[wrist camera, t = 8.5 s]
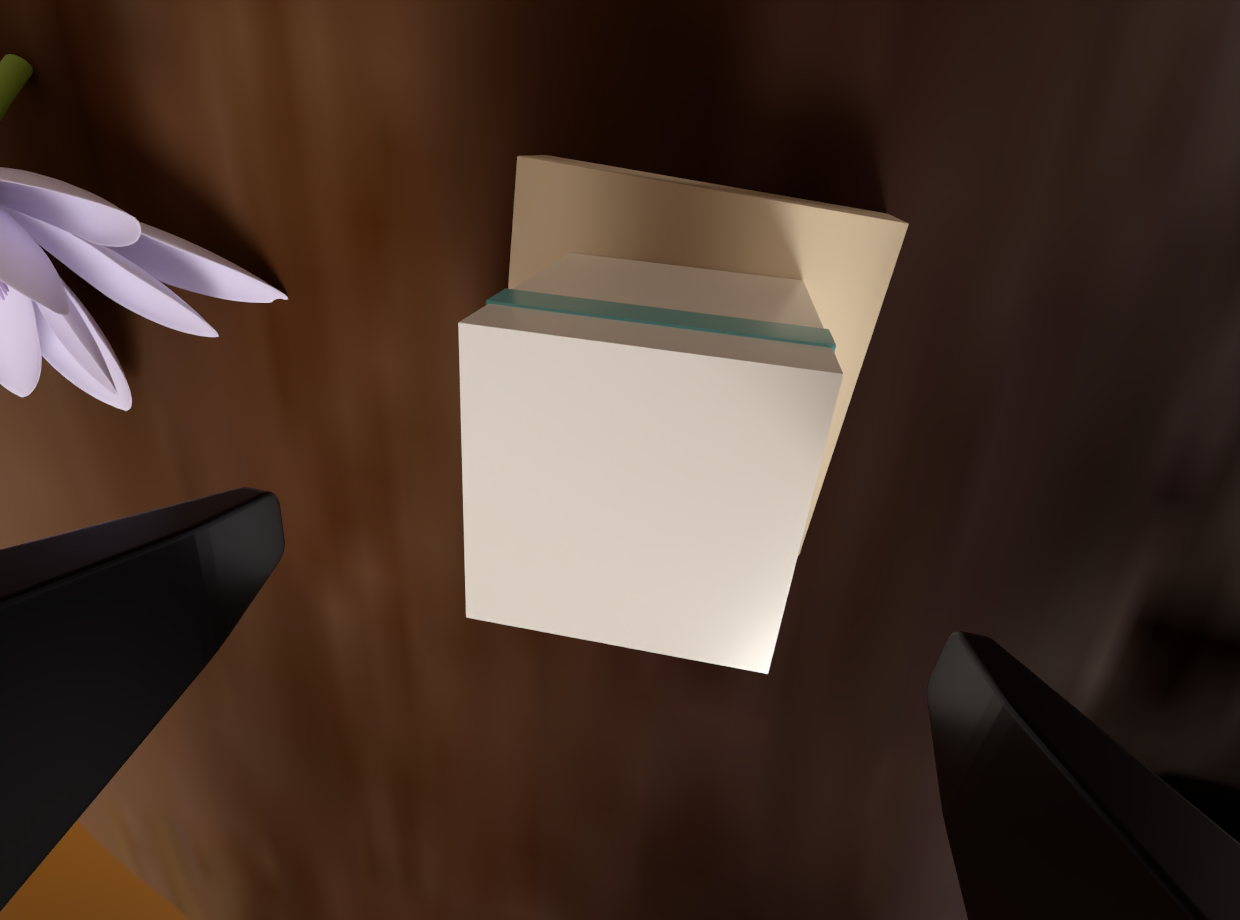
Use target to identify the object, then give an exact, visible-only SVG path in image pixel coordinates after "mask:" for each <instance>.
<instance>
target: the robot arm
mask: <svg viewBox="0 0 1240 920" xmlns="http://www.w3.org/2000/svg"><path fill="white" fill-rule="evenodd" d="M284 546H285V540H284V532H283V525H282V517H281V510H280V503H279V500H278V498H277V496H276V495H275V494H274V493H272V492H269V491H264V490H259V489H254V488H249V487H243V488H238V489H234V490H230V491H226V492H222V493H219V494H215V495H211V496H207V497H203V498H199V499H195V500H191V501H187V502H184V503H180V504H176V505H172V506H168V507H164V508H160V509H156V510H152V511H149V512H145V513H141V514H137V515H133V516H129V517H125V518H121V519H117V520H114V521H110V522H106V523H102V524H98V525H94V526H90V527H86V528H82V529H79V530H75V531H71V532H67V533H63V534H59V535H55V536H51V537H47V538H44V539H40V540H36V541H32V542H28V543H24V544H20V545H16V546H12V547H9V548H5V549H1V550H0V911H1V910H2V909H3V907H5V905H6V904H7V903H8V902H9V901H10V899H11V898H12V897H13V896H14V895H15V894H16V892H17V891H18V890H19V889H20V888H21V886H22V885H23V884H24V883H25V882H26V880H27V879H28V878H29V877H30V875H31V874H32V873H33V872H34V871H35V870H36V868H37V867H38V866H39V865H40V864H41V862H42V861H43V860H44V859H45V858H46V856H47V855H48V854H49V853H50V852H51V850H52V849H53V848H54V847H55V846H56V844H57V843H58V842H59V841H60V840H61V838H62V837H63V836H64V835H65V834H66V833H67V831H68V830H69V829H70V828H71V827H72V825H73V824H74V823H75V822H76V821H77V819H78V818H79V817H80V816H81V815H82V813H83V812H84V811H85V810H86V809H87V807H88V806H89V805H90V804H91V803H92V801H93V800H94V799H95V798H96V797H97V795H98V794H99V793H100V792H101V791H102V789H103V788H104V787H105V786H106V785H107V783H108V782H109V781H110V780H111V779H112V778H113V776H114V775H115V774H116V773H117V772H118V770H119V769H120V768H121V767H122V766H123V764H124V763H125V762H126V761H127V760H128V758H129V757H130V756H131V755H132V754H133V752H134V751H135V750H136V749H137V748H138V746H139V745H140V744H141V743H142V742H143V740H144V739H145V738H146V737H147V736H148V734H149V733H150V732H151V731H152V730H153V728H154V727H155V726H156V725H157V724H158V722H159V721H160V720H161V719H162V718H163V717H164V715H165V714H166V713H167V712H168V711H169V709H170V708H171V707H172V706H173V705H174V703H175V702H176V701H177V700H178V699H179V697H180V696H181V695H182V694H183V693H184V691H185V690H186V689H187V688H188V687H189V685H190V684H191V683H192V682H193V681H194V679H195V678H196V677H197V676H198V675H199V673H200V672H201V671H202V670H203V669H204V667H205V666H206V665H207V664H208V663H209V661H210V660H211V659H212V657H213V656H214V655H215V654H216V652H217V651H218V650H219V648H220V647H221V646H222V644H223V643H224V642H225V640H226V639H227V637H228V636H229V635H230V633H231V632H232V630H233V629H234V627H235V626H236V624H237V623H238V621H239V620H240V619H241V617H242V616H243V614H244V613H245V611H246V610H247V608H248V607H249V605H250V604H251V602H252V601H253V599H254V598H255V596H256V595H257V594H258V592H259V591H260V589H261V588H262V586H263V585H264V583H265V582H266V580H267V579H268V577H269V576H270V574H271V573H272V571H273V570H274V569H275V567H276V566H277V564H278V563H279V561H280V559H281V557H282V555H283V551H284ZM927 701H928V708H929V716H930V724H931V731H932V739H933V747H934V754H935V762H936V770H937V777H938V785H939V792H940V799H941V805H942V812H943V817H944V822H945V826H946V831H947V835H948V839H949V843H950V847H951V852H952V856H953V860H954V864H955V868H956V872H957V876H958V880H959V884H960V888H961V892H962V896H963V900H964V904H965V908H966V912H967V916H968V920H1240V790H1236V789H1232V788H1227V787H1223V786H1218V785H1213V784H1209V783H1204V782H1200V781H1195V780H1191V779H1186V778H1181V777H1175V776H1169V777H1164V778H1162V779H1161V778H1160V777H1158V776H1157V775H1156V774H1155V773H1154V772H1152V771H1151V770H1150V769H1149V768H1148V767H1146V766H1145V765H1144V764H1143V763H1141V762H1140V761H1139V760H1138V759H1137V758H1135V757H1134V756H1133V755H1132V754H1131V753H1129V752H1128V751H1127V750H1126V749H1125V748H1123V747H1122V746H1121V745H1120V744H1118V743H1117V742H1116V741H1115V740H1114V739H1112V738H1111V737H1110V736H1109V735H1108V734H1106V733H1105V732H1104V731H1103V730H1102V729H1100V728H1099V727H1098V726H1097V725H1095V724H1094V723H1093V722H1092V721H1091V720H1089V719H1088V718H1087V717H1086V716H1085V715H1083V714H1082V713H1081V712H1080V711H1079V710H1077V709H1076V708H1075V707H1074V706H1072V705H1071V704H1070V703H1069V702H1068V701H1066V700H1065V699H1064V698H1063V697H1062V696H1060V695H1059V694H1058V693H1057V692H1056V691H1054V690H1053V689H1052V688H1051V687H1049V686H1048V685H1047V684H1046V683H1045V682H1043V681H1042V680H1041V679H1040V678H1039V677H1037V676H1036V675H1035V674H1034V673H1033V672H1031V671H1030V670H1029V669H1028V668H1027V667H1025V666H1024V665H1023V664H1022V663H1020V662H1019V661H1018V660H1017V659H1016V658H1014V657H1013V656H1012V655H1011V654H1010V653H1008V652H1007V651H1006V650H1005V649H1004V648H1002V647H1001V646H1000V645H999V644H997V643H996V642H995V641H994V640H992V639H991V638H989V637H986V636H982V635H977V634H972V633H967V632H962V631H957V632H954V633H952V634H951V635H950V636H949V638H948V639H947V641H946V643H945V645H944V647H943V650H942V652H941V654H940V656H939V658H938V660H937V663H936V665H935V667H934V669H933V671H932V673H931V676H930V678H929V682H928V687H927Z"/></svg>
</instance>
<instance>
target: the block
mask: <svg viewBox="0 0 1240 920" xmlns="http://www.w3.org/2000/svg"><path fill="white" fill-rule="evenodd" d="M908 225H909V224H908V223H906V222H904V221H902V220H900V219H898V218H895V217H893V216H891V215H889V214H887V213H881V212H875V211H869V210H863V209H858V208H852V207H846V206H840V205H834V204H828V203H823V202H817V201H811V200H805V199H799V198H794V197H788V196H782V195H776V194H770V193H764V192H759V191H753V190H747V189H741V188H735V187H730V186H724V185H718V184H712V183H706V182H700V181H695V180H689V179H683V178H677V177H671V176H666V175H660V174H654V173H648V172H642V171H636V170H631V169H625V168H619V167H613V166H607V165H601V164H596V163H590V162H584V161H578V160H572V159H567V158H561V157H555V156H549V155H532V156H517V167H516V182H515V196H514V211H513V225H512V239H511V254H510V268H509V283H508V289H513V288H515V287H516V286H518V285H519V284H521V283H523V282H524V281H526V280H527V279H529V278H531V277H532V276H534V275H535V274H537V273H539V272H540V271H542V270H543V269H545V268H547V267H548V266H550V265H551V264H553V263H555V262H556V261H558V260H559V259H561V258H563V257H564V256H566V255H568V254H569V253H576V254H585V255H593V256H602V257H610V258H619V259H627V260H635V261H644V262H652V263H661V264H669V265H678V266H686V267H694V268H703V269H711V270H720V271H728V272H737V273H745V274H754V275H762V276H770V277H779V278H787V279H796V280H803V281H804V284H805V286H806V288H807V290H808V293H809V295H810V297H811V300H812V302H813V304H814V307H815V309H816V311H817V314H818V316H819V318H820V321H821V323H822V325H823V328H824V329H829V331H830V333H831V335H832V337H833V339H834V342H835V344H836V348H835V356H836V358H837V360H838V363H839V365H840V367H841V370H842V372H843V378H842V382H841V386H840V390H839V394H838V398H837V402H836V406H835V410H834V414H833V417H832V421H831V425H830V429H829V433H828V437H827V441H826V445H825V449H824V453H823V457H822V461H821V465H820V469H819V473H818V477H817V481H816V485H815V489H814V493H813V497H812V501H811V505H810V509H809V513H808V517H807V521H806V525H805V529H804V533H803V537H802V541H801V545H800V549H799V553H800V550H801V547H802V544H803V541H804V538H805V535H806V532H807V529H808V526H809V523H810V520H811V517H812V514H813V511H814V508H815V505H816V502H817V499H818V496H819V493H820V490H821V487H822V484H823V481H824V478H825V475H826V472H827V469H828V466H829V463H830V460H831V457H832V454H833V451H834V448H835V445H836V442H837V439H838V436H839V433H840V430H841V427H842V424H843V421H844V418H845V415H846V412H847V409H848V406H849V403H850V400H851V397H852V393H853V390H854V387H855V384H856V381H857V378H858V375H859V372H860V369H861V366H862V363H863V360H864V357H865V354H866V351H867V348H868V345H869V342H870V339H871V336H872V333H873V330H874V327H875V324H876V321H877V318H878V315H879V312H880V309H881V306H882V303H883V300H884V297H885V294H886V291H887V288H888V285H889V282H890V279H891V276H892V273H893V270H894V267H895V264H896V261H897V258H898V255H899V252H900V249H901V246H902V243H903V240H904V237H905V234H906V231H907V228H908ZM799 553H798V555H799Z"/></svg>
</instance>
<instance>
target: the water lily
mask: <svg viewBox="0 0 1240 920" xmlns="http://www.w3.org/2000/svg"><path fill="white" fill-rule="evenodd" d="M32 73H33V68H32V66H31V65H30V64H29V63H28V62H27V61H26V60H24V59H23V58H21V57H19V56H17V55H13V54H7V55H5V56H4V58H3V59H2V60H1V62H0V123H1V121H2V119H3V117H4V116H5V114H6V112H7V111H8V109H9V107H10V106H11V104H12V103H13V101H14V99H15V98H16V96H17V95H18V93H19V92H20V90H21V89H22V88H23V86H24V85H25V83H26V82H27V81H28V79H29V78H30V77H31V76H32ZM38 244H39V245H40V246H41V247H42V248H44V249H45V250H46V251H48V252H49V253H50V254H52V255H53V256H54V257H55V258H57V259H58V260H59V261H61V262H62V263H63V264H65V265H66V266H67V267H68V268H70V269H71V270H72V271H73V272H75V273H76V274H77V275H79V276H80V277H81V278H83V279H84V280H85V281H87V282H88V283H89V284H91V285H92V286H93V287H95V288H96V289H97V290H99V291H100V292H101V293H103V294H104V295H106V296H107V297H109V298H110V299H112V300H113V301H115V302H117V303H118V304H120V305H122V306H123V307H125V308H127V309H129V310H131V311H133V312H135V313H137V314H139V315H141V316H143V317H145V318H147V319H149V320H151V321H154V322H156V323H158V324H161V325H164V326H166V327H169V328H172V329H175V330H178V331H181V332H185V333H189V334H194V335H199V336H206V337H218V333H217V332H216V331H215V330H214V329H213V328H212V327H211V326H210V325H209V324H208V323H207V322H206V321H205V320H204V319H203V318H202V317H201V316H200V315H199V314H198V313H197V312H196V311H195V310H193V309H192V308H191V307H190V306H189V305H188V304H187V303H186V302H184V301H183V300H182V299H181V298H180V297H179V296H177V295H176V294H175V293H174V292H172V291H171V290H170V289H169V288H167V287H166V286H165V285H163V284H162V283H161V282H163V283H166V284H169V285H172V286H175V287H178V288H181V289H184V290H188V291H191V292H195V293H199V294H203V295H207V296H212V297H216V298H221V299H227V300H234V301H242V302H255V303H271V302H273V301H274V300H275V299H279V298H281V299H284V300H287V299H288V297H287V296H286V295H285V294H284V293H282V292H281V291H279V290H277V289H276V288H274V287H273V286H271V285H270V284H268V283H266V282H265V281H263V280H262V279H260V278H258V277H257V276H255V275H253V274H251V273H250V272H248V271H246V270H245V269H243V268H241V267H239V266H237V265H236V264H234V263H232V262H230V261H228V260H226V259H224V258H222V257H220V256H218V255H216V254H214V253H212V252H210V251H208V250H206V249H204V248H202V247H200V246H198V245H195V244H193V243H191V242H189V241H187V240H184V239H182V238H180V237H177V236H175V235H172V234H170V233H168V232H165V231H163V230H160V229H157V228H155V227H152V226H150V225H147V224H144V223H141V222H139V221H138V220H137V219H136V218H135V217H133V216H131V215H129V214H128V213H126V212H125V211H123V210H122V209H120V208H118V207H117V206H115V205H113V204H112V203H110V202H108V201H106V200H105V199H103V198H101V197H99V196H97V195H95V194H93V193H91V192H88V191H86V190H84V189H81V188H79V187H76V186H74V185H71V184H69V183H66V182H63V181H61V180H58V179H54V178H51V177H48V176H44V175H40V174H37V173H33V172H29V171H24V170H19V169H12V168H3V167H0V384H1V385H2V386H4V387H5V388H6V389H8V390H9V391H11V392H12V393H14V394H16V395H18V396H20V397H25V396H28V395H29V394H30V393H31V392H32V391H33V390H34V389H35V387H36V385H37V382H38V381H39V377H40V372H41V355H42V356H43V357H44V358H45V359H46V360H47V361H48V362H49V363H50V364H51V365H52V366H53V367H54V368H55V369H56V370H57V371H58V372H60V373H61V374H62V375H63V376H64V377H65V378H67V379H68V380H69V381H71V382H72V383H73V384H75V385H76V386H77V387H79V388H80V389H82V390H83V391H85V392H86V393H88V394H90V395H92V396H93V397H95V398H97V399H99V400H101V401H103V402H105V403H107V404H109V405H111V406H114V407H116V408H119V409H122V410H125V411H127V410H129V409H130V408H131V404H132V398H131V392H130V388H129V385H128V382H127V380H126V377H125V374H124V372H123V369H122V367H121V365H120V362H119V360H118V358H117V357H116V355H115V353H114V351H113V349H112V347H111V345H110V344H109V342H108V340H107V338H106V337H105V335H104V334H103V332H102V330H101V329H100V327H99V326H98V324H97V323H96V321H95V320H94V319H93V317H92V316H91V314H90V313H89V312H88V310H87V309H86V308H85V306H84V305H83V304H82V303H81V301H80V300H79V299H78V298H77V296H76V295H75V294H74V293H73V292H72V290H71V289H70V288H69V287H68V286H67V285H66V283H65V282H64V281H63V280H62V279H61V278H60V277H59V275H58V273H57V271H56V269H55V268H54V266H53V264H52V262H51V261H50V259H49V258H48V256H47V255H46V254H45V252H44V251H43V250H42V248H41V247H40V246H39V245H38ZM159 281H160V282H159Z"/></svg>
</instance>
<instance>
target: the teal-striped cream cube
mask: <svg viewBox="0 0 1240 920" xmlns="http://www.w3.org/2000/svg"><path fill="white" fill-rule="evenodd" d="M458 324H459V362H460V400H461V438H462V476H463V515H464V553H465V591H466V617H467V618H472V619H478V620H483V621H488V622H494V623H499V624H504V625H510V626H515V627H520V628H526V629H531V630H536V631H542V632H547V633H552V634H558V635H563V636H568V637H574V638H579V639H584V640H590V641H595V642H600V643H606V644H611V645H616V646H622V647H627V648H632V649H638V650H643V651H648V652H654V653H659V654H664V655H670V656H675V657H680V658H686V659H691V660H696V661H702V662H707V663H712V664H718V665H723V666H728V667H734V668H739V669H744V670H750V671H755V672H760V673H766V674H768V672H769V668H770V664H771V660H772V656H773V652H774V648H775V644H776V640H777V636H778V632H779V628H780V624H781V620H782V616H783V612H784V608H785V604H786V600H787V596H788V592H789V588H790V584H791V580H792V576H793V572H794V568H795V564H796V560H797V556H798V553H799V549H800V545H801V541H802V537H803V533H804V529H805V525H806V521H807V517H808V513H809V509H810V505H811V501H812V497H813V493H814V489H815V485H816V481H817V477H818V473H819V469H820V465H821V461H822V457H823V453H824V449H825V445H826V441H827V437H828V433H829V429H830V425H831V421H832V417H833V414H834V410H835V406H836V402H837V398H838V394H839V390H840V386H841V382H842V378H843V372H842V370H841V367H840V365H839V363H838V360H837V358H836V356H835V348H836V344H835V342H834V339H833V337H832V335H831V333H830V331H829V329H824V328H823V325H822V323H821V321H820V318H819V316H818V314H817V311H816V309H815V307H814V304H813V302H812V300H811V297H810V295H809V293H808V290H807V288H806V286H805V284H804V281H803V280H796V279H787V278H779V277H770V276H762V275H754V274H745V273H737V272H728V271H720V270H711V269H703V268H694V267H686V266H678V265H669V264H661V263H652V262H644V261H635V260H627V259H619V258H610V257H602V256H593V255H585V254H576V253H569V254H568V255H566V256H564V257H563V258H561V259H559V260H558V261H556V262H555V263H553V264H551V265H550V266H548V267H547V268H545V269H543V270H542V271H540V272H539V273H537V274H535V275H534V276H532V277H531V278H529V279H527V280H526V281H524V282H523V283H521V284H519V285H518V286H516V287H515V288H513V289H507V288H505V289H504V290H502V291H500V292H499V293H497V294H495V295H494V296H492V297H490V298H489V299H487V300H486V306H484V307H483V308H481V309H479V310H478V311H476V312H475V313H473V314H471V315H470V316H468V317H467V318H465V319H463V320H462V321H460V322H459V323H458Z"/></svg>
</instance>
